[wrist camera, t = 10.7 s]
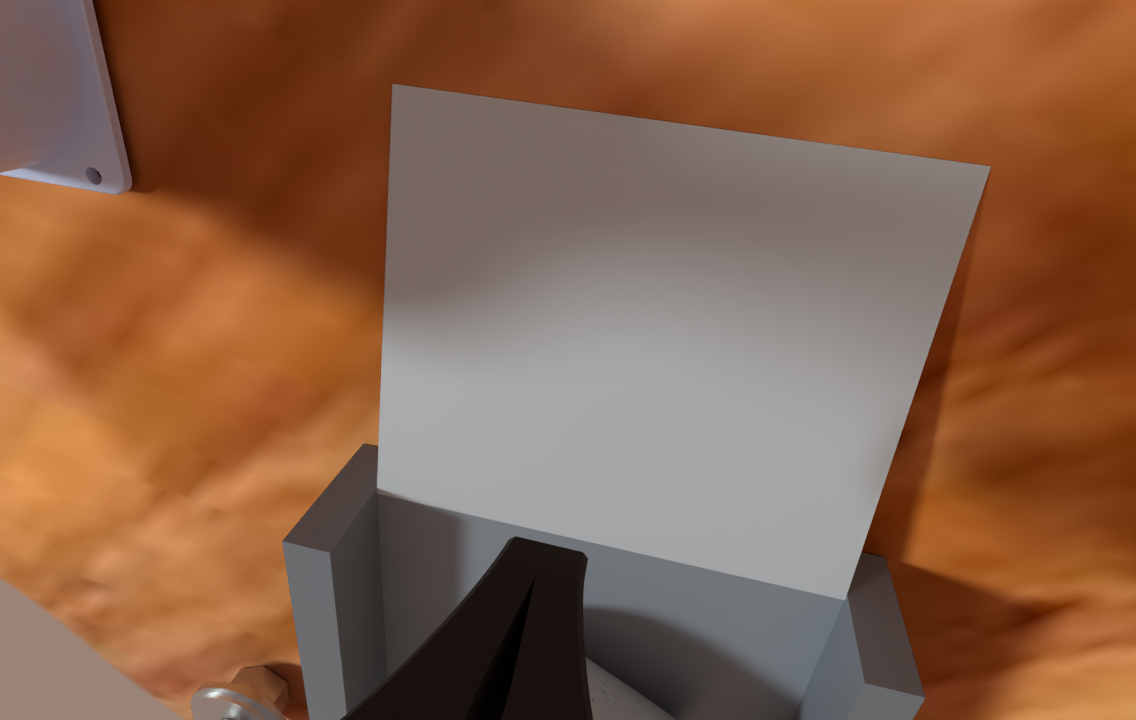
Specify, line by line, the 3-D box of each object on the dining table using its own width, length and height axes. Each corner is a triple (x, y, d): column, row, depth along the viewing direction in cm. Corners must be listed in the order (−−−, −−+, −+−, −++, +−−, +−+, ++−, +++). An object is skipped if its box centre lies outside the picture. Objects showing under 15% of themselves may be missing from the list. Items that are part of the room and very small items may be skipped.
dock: (390, 702, 33) (326, 833, 27) (357, 73, 19) (214, 99, 13) (760, 803, 30) (767, 968, 25) (1042, 167, 16) (1190, 242, 11)
